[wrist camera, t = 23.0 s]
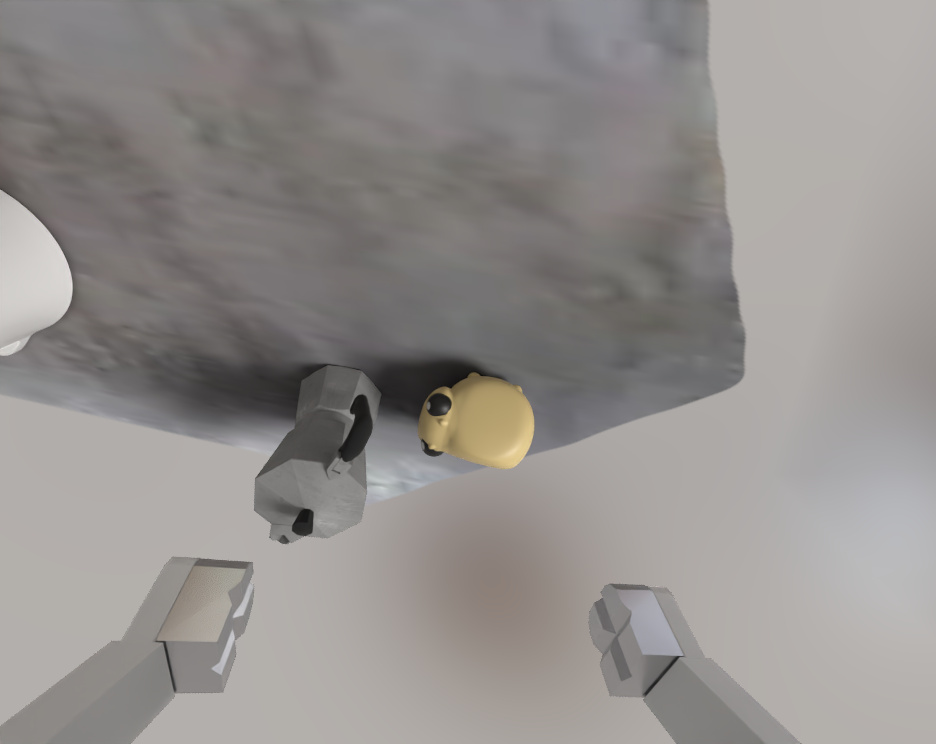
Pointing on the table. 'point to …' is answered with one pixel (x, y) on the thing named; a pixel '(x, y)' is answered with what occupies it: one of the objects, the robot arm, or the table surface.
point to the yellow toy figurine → (478, 422)
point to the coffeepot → (321, 458)
